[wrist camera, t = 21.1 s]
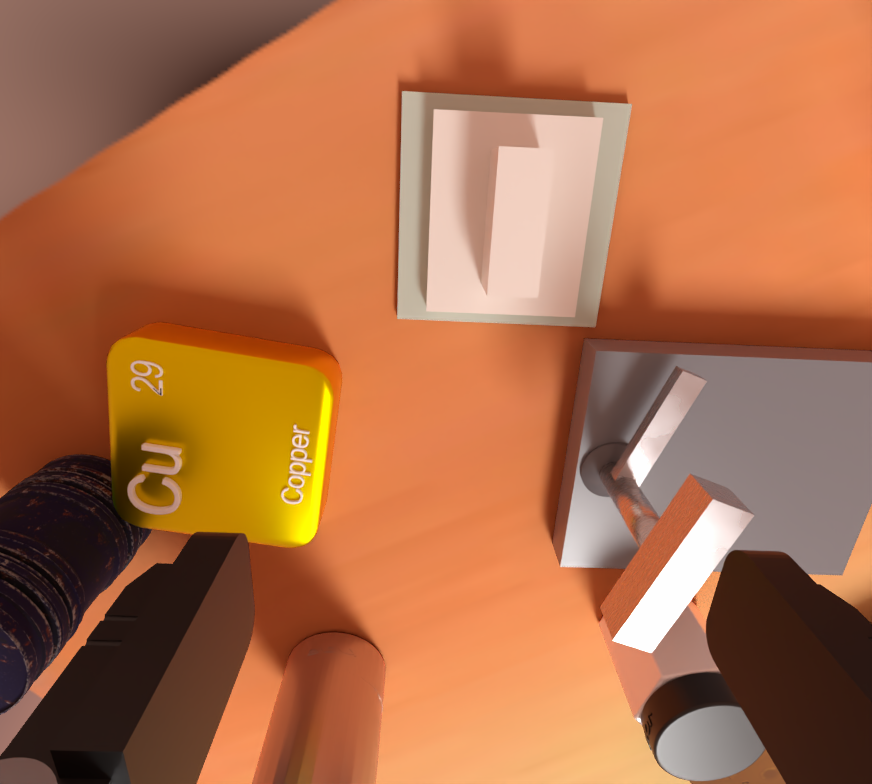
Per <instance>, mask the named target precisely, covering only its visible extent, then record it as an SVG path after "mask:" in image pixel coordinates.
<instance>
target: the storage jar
mask: <svg viewBox="0 0 872 784" xmlns="http://www.w3.org/2000/svg"><path fill="white" fill-rule="evenodd" d="M151 530H152V529H148V528H141V527H138V526H135V525H133V524H131V523H129V522H126V521H125V520H123V519H122V518H121V517H120V516H119V515H118V513H117V511H116V509H115V507H114V503H113V499H112V477H111V461H110V460H107V459H104V458H101V457H97V456H92V455H68V456H64V457H60V458H57V459H55V460H53V461H51V462H49V463H48V464H47V465H45V466H44V467H43V468H42V469H40V470H39V471H38V472H37V473H35V474H34V475H32V476H30V477H28V478H26V479H24V480H23V481H22V482H20V483H19V484H18V485H16V486H15V487H14V488H12V489H11V490H10V491H8V493H6V494H5V495H4V496H3V497H1V498H0V715H1V714H3V713H5V712H7V711H8V710H10V709H11V708H13V707H14V706H15V705H16V704H17V703H18V702H19V701H20V700H21V699H22V698H23V696H24V695H25V694H26V693H27V691H28V690H29V689H30V687H31V685H32V684H33V682H34V681H35V680H36V679H37V678H38V677H39V676H40V675H41V673H42V672H43V671H44V670H45V669H46V668H47V667H48V666H49V665H50V664H51V663H52V662H53V660H54V659H55V658H56V657H57V655H58V654H59V653H60V652H61V650H62V649H63V647H64V646H65V644H66V642H67V641H68V640H69V639H70V638H71V637H72V636H73V635H74V633H75V632H76V630H77V628H78V626H79V624H80V623H81V621H82V618H83V615H84V613H85V611H86V610H87V609H88V608H89V606H90V605H91V604H92V602H93V601H94V600H95V599H96V597H97V596H98V595H99V594H100V593H101V592H103V591H104V590H106V589H107V588H108V587H109V586H110V585H111V584H112V583H113V581H114V580H115V579H116V578H117V576H118V575H119V574H120V573H121V572H122V571H123V570H124V569H125V568H126V567H127V565H128V564H129V563H130V562H131V560H132V559H133V557H134V556H135V554H136V552H137V550H138V548H139V547H140V546H141V545H142V544H143V542H144V541H145V540H146V539H147V537H148V536H149V534H150V533H151Z"/></svg>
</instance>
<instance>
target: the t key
mask: <svg viewBox="0 0 872 784" xmlns="http://www.w3.org/2000/svg"><path fill="white" fill-rule="evenodd" d="M706 382H707V381H706V380H705V379H704V378H702V377H701V376H699V375H697V374H695V373H692V372H690V371H688V370H685V369H683V368H680V367H678V366H676V367H675V368H674V370H673V371H672V373H671V375H670V376H669V378H668V380H667V381H666V383H665V385H664V386H663V388H662V389H661V391H660V393H659V394H658V396H657V398H656V399H655V401H654V403H653V404H652V406H651V407H650V409H649V411H648V412H647V414H646V416H645V417H644V419H643V421H642V422H641V424H640V425H639V427H638V429H637V430H636V432H635V434H634V435H633V437H632V438H631V440H630V442H629V443H628V445H627V447H626V448H625V450H624V452H623V453H622V455H621V456H620V458H619V460H618V461H612V462H609V463H607V464H605V465H604V466H603V467H602V468H601V470H600V473H599V477H600V480H601V481H602V483H603V485H604V487H605V489H606V490H607V492H608V494H609V496H610V497H611V499H612V501H613V503H614V504H615V506H616V508H617V510H618V511H619V513H620V515H621V517H622V518H623V520H624V522H625V524H626V525H627V527H628V529H629V531H630V533H631V534H632V536H633V538H634V540H635V541H636V543H637V545H638V547H639V550H638V551H637V553H636V554H635V556H634V557H633V559H632V560H631V562H630V563H629V565H628V566H627V567H626V569H625V570H624V572H623V573H622V575H621V576H620V578H619V579H618V581H617V582H616V584H615V585H614V587H613V588H612V590H611V591H610V593H609V594H608V596H607V597H606V599H605V600H604V602H603V603H602V605H601V606H600V609H601V612H602V614H603V617H604V619H605V622H606V624H607V627H608V629H609V632H610V634H611V637H612V639H613V641H616V642H619V643H622V644H626V645H629V646H632V647H635V648H638V649H641V650H644V651H647V652H651V653H652V651H653V650H654V649H655V647H656V646H657V645H658V643H659V642H660V641H661V639H662V638H663V637H664V635H665V634H666V633H667V631H668V630H669V629H670V627H671V626H672V625H673V623H674V622H675V621H676V619H677V618H678V617H679V615H680V614H681V613H682V611H683V610H684V609H685V607H686V606H687V605H688V603H689V602H690V601H691V599H692V598H693V597H694V595H695V594H696V593H697V591H698V590H699V589H700V587H701V586H702V585H703V583H704V582H705V581H706V579H707V578H708V577H709V575H710V574H711V573H712V571H713V570H714V569H715V567H716V566H717V565H718V563H719V562H720V561H721V559H722V558H723V557H724V555H725V554H726V553H727V551H728V550H729V549H730V547H731V546H732V545H733V543H734V542H735V541H736V539H737V538H738V537H739V535H740V534H741V533H742V531H743V530H744V529H745V527H746V526H747V525H748V523H749V522H750V521H751V519H752V518H753V517H754V514H753V513H752V512H751V511H750V510H749V509H748V508H747V507H746V506H745V505H744V504H743V502H742V501H741V500H740V499H739V498H738V497H737V496H736V495H735V494H734V493H733V492H732V491H731V490H730V489H729V488H727V487H724V486H721V485H719V484H716V483H714V482H711V481H709V480H706V479H703V478H701V477H698V476H696V475H693V474H689V476H688V477H687V479H686V480H685V482H684V483H683V485H682V486H681V487H680V489H679V490H678V492H677V493H676V495H675V496H674V498H673V499H672V501H671V502H670V504H669V505H668V507H667V508H666V510H665V511H664V513H663V514H662V516H661V517H659V515H658V514H657V512H656V511H655V509H654V508H653V506H652V505H651V503H650V502H649V500H648V499H647V498H646V496H645V495H644V493H643V492H642V490H641V489H640V485H641V483H642V482H643V480H644V479H645V477H646V476H647V474H648V472H649V471H650V469H651V468H652V466H653V465H654V463H655V462H656V460H657V458H658V457H659V455H660V454H661V452H662V451H663V449H664V448H665V446H666V444H667V443H668V441H669V440H670V438H671V437H672V435H673V434H674V432H675V430H676V429H677V427H678V426H679V424H680V423H681V421H682V419H683V418H684V416H685V415H686V413H687V412H688V410H689V409H690V407H691V405H692V404H693V402H694V401H695V399H696V398H697V396H698V395H699V393H700V391H701V390H702V388H703V387H704V385H705V384H706Z"/></svg>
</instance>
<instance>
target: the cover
mask: <svg viewBox="0 0 872 784" xmlns="http://www.w3.org/2000/svg"><path fill="white" fill-rule="evenodd" d="M602 124H603V118H598V117H578V116H558V115H538V114H518V113H499V112H479V111H459V110H439V109H434V114H433V141H432V168H431V194H430V221H429V248H428V275H427V302H426V311H429V312H454V313H480V314H505V315H530V316H555V317H575V313H576V306H577V299H578V292H579V285H580V278H581V271H582V264H583V257H584V250H585V243H586V236H587V229H588V222H589V215H590V208H591V201H592V194H593V187H594V180H595V173H596V166H597V159H598V152H599V145H600V138H601V131H602Z"/></svg>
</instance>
